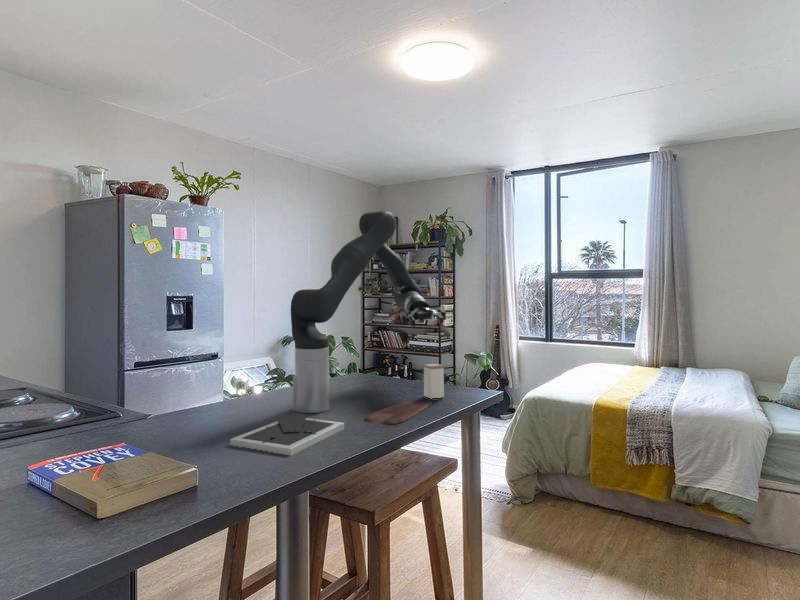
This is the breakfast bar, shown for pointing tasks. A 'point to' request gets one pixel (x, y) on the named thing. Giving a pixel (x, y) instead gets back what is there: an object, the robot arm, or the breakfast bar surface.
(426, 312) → the robot arm
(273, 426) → the picture frame
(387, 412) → the wooden tablet
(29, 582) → the breakfast bar surface
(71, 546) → the breakfast bar surface
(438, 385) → the cream block
